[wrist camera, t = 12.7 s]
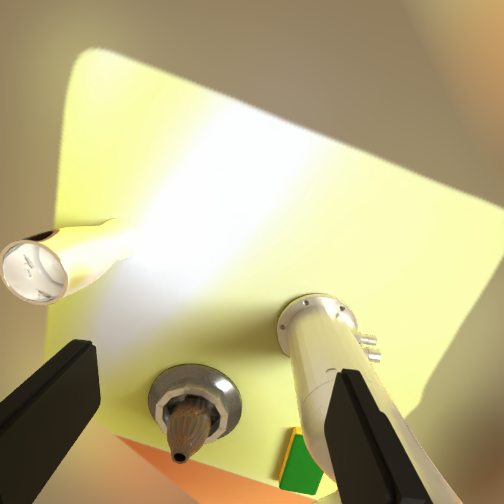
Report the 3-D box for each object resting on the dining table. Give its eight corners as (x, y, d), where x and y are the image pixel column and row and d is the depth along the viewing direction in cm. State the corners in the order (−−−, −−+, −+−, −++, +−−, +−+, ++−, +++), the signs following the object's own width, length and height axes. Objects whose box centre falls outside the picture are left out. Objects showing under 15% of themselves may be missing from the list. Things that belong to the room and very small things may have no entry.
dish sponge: (331, 430, 47) (334, 443, 44) (312, 481, 51) (315, 496, 48) (293, 424, 47) (295, 436, 44) (278, 475, 51) (278, 489, 48)
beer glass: (113, 266, 39) (25, 317, 25) (89, 225, 37) (-21, 254, 23) (151, 250, 38) (83, 293, 24) (128, 208, 36) (40, 225, 22)
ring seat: (248, 372, 43) (247, 385, 40) (235, 444, 48) (233, 460, 45) (151, 356, 43) (143, 369, 40) (148, 430, 48) (141, 446, 45)
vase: (178, 420, 46) (159, 474, 38) (174, 390, 44) (153, 439, 36) (215, 421, 46) (204, 475, 37) (212, 391, 44) (201, 441, 35)
